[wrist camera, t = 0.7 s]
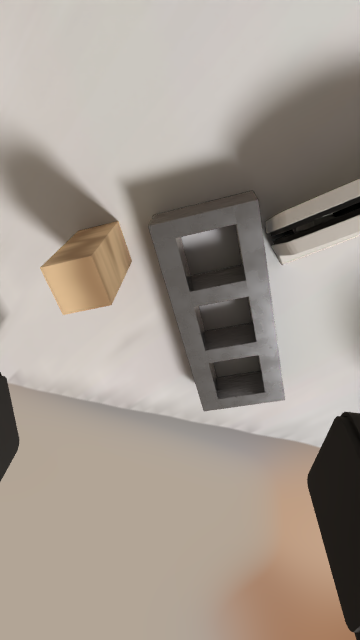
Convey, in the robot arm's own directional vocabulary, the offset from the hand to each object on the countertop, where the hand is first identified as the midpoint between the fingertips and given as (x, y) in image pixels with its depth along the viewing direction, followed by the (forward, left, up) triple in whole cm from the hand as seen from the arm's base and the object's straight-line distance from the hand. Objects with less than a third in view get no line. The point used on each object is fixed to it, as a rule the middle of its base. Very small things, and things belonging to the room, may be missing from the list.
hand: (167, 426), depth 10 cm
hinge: (+15, -3, -29) cm, 33 cm away
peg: (-10, -2, -28) cm, 30 cm away
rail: (+1, -12, -28) cm, 31 cm away
